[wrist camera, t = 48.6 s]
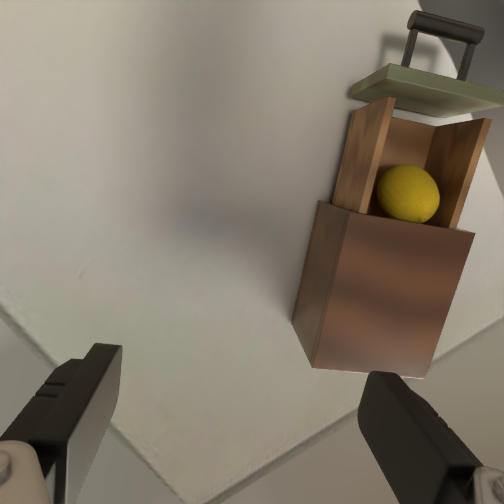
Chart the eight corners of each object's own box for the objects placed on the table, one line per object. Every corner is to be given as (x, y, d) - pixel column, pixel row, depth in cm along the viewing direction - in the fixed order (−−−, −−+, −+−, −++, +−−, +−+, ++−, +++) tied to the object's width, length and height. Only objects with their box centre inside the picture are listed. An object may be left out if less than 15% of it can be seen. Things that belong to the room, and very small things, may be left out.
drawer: (364, 27, 34) (408, -15, 27) (464, 52, 36) (534, 20, 28) (320, 222, 40) (346, 237, 32) (409, 237, 41) (455, 254, 33)
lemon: (407, 140, 34) (450, 186, 29) (419, 174, 38) (458, 220, 33) (359, 169, 36) (390, 218, 31) (374, 199, 40) (404, 247, 34)
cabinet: (318, 200, 40) (350, 212, 30) (415, 217, 42) (475, 233, 32) (291, 323, 44) (312, 368, 34) (381, 333, 46) (425, 379, 36)
